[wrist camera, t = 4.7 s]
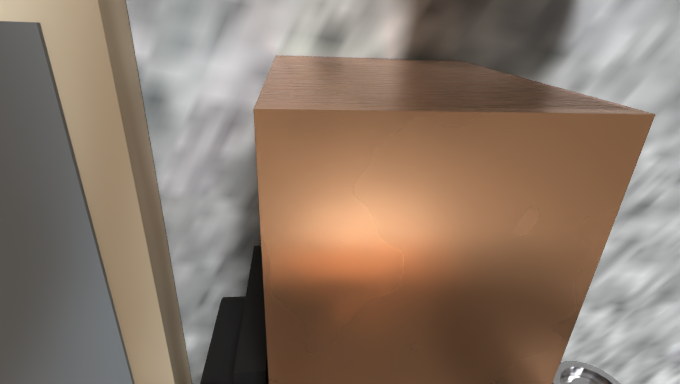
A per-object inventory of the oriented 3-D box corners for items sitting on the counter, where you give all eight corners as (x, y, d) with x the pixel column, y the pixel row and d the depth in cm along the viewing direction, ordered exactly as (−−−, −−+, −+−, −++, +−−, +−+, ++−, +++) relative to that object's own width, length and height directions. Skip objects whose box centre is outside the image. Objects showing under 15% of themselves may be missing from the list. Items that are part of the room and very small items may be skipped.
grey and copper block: (461, 61, 9) (654, 114, 4) (404, 412, 14) (462, 617, 9) (276, 55, 8) (253, 108, 4) (286, 421, 13) (283, 644, 9)
